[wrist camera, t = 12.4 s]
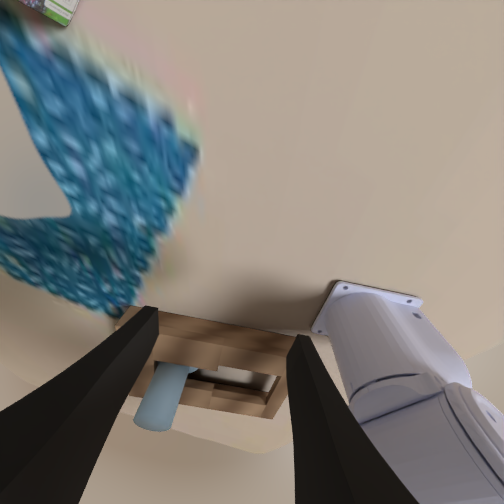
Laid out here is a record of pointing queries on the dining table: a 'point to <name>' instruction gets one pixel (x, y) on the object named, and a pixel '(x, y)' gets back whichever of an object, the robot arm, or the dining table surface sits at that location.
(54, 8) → the syrup box
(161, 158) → the dining table surface
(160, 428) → the footed peg
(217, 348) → the keyhole bridge
